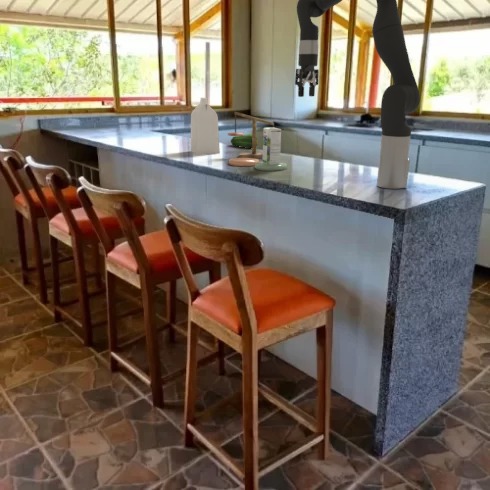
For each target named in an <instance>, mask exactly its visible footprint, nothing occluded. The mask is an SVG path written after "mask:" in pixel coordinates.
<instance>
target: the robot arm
mask: <svg viewBox="0 0 490 490" xmlns="http://www.w3.org/2000/svg"><path fill="white" fill-rule="evenodd" d="M342 1H343V0H298V1H297V3H296V14H297V19H298V25H299V30H300V33H299V44H298V62H297V63H298V66H299V67H300V68H296V69H295V79H294V85H295V86H297V87H298V89H297V90H298V91H297V94H298V95H297V96H298V97H299V98H302V97H304V96H305V85H306V83H308V84H309V87H308V88H309V89H308V96H309V97H314V96H315V92H316V91H315V90H316V86H318V85H319V77H320V75H319V71H320V70H319V69H317V68H315V67H317V66H318V60H319V29H320V28H319V26H318V25H317V24H316V23H314V22H313V21H312V19H311V18H319V17H321V16H323V15H324V14H325V13H326V12H327V11H328V10H329V9H330V8H332V7H334V6H336V5H338V4H339V3H341V2H342ZM397 2H398V1H397V0H376V12H375V15H374V16H375V17H374V20H373V24H372V37H373V42H374V46H375V50H376V53H377V54H378V57H379V58H380V59H381V61H382V63H384V64H383V65H385V66H386V68H387V69H388V71H389V73H390V74H391V77H392V80H393V81H392V82H393V84H390V85H388V86H387V88H385V90H384V91H383V94H382V98H381V102H380V103H381V104H380V128H381V137H380V138H381V139H380V140H381V141H380V148H379V149H380V150H379V159H378V170H377V179H376V186H377V187H380V188H381V189H382V188H383V189H392V190H393V189H396V190H398V189H399V190H400V189H406V188H408V181H409V180H408V179H409V171H410V164H411V163H410V162H411V160H410V159H409V151H410V144H411V136H412V127H411V126H410V125H408V124H407V123H406V121H405V120H406V119H405V116H406V115H407V114H411V113H414V112H415V111H417V109H418V108H419V105H420V100H421V94H420V90H419V86H418V84H417V81H416V78H415V75H414V72H413V70H412V66H411V62H410V57H409V52H408V49H407V46H406V45H407V44H406V40H405V33H404V31H403V30H404V29H403V25H402V22H401V17H400V12H399V7H398V3H397Z"/></svg>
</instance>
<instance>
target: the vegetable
mask: <svg viewBox="0 0 490 490" xmlns="http://www.w3.org/2000/svg"><path fill="white" fill-rule="evenodd" d="M230 144H231V145H232V146H233V147H240V148H246V149H252V134H251V133H250V134H245V135H244V134H243V136H232V138H231V139H230ZM258 144H259V138H258V137H257V136H256V147H257V146H258Z"/></svg>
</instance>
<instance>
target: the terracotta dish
mask: <svg viewBox="0 0 490 490" xmlns="http://www.w3.org/2000/svg"><path fill="white" fill-rule="evenodd" d="M258 162H260V159H259V158H239V157H235V158H230V159H228V165H230V166H234V167H255V163H258Z"/></svg>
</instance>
